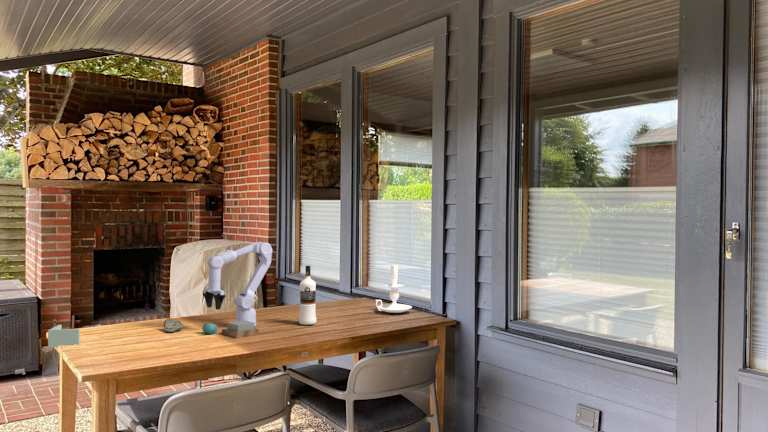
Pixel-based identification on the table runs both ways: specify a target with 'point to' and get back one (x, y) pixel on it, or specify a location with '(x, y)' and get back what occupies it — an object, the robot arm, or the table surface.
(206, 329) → the teal cylinder
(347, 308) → the table surface
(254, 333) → the walnut base slab
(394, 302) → the candlestick
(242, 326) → the gray top slab
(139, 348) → the table surface
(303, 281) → the vodka
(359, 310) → the table surface
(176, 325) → the rock sample
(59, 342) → the right angle wall
